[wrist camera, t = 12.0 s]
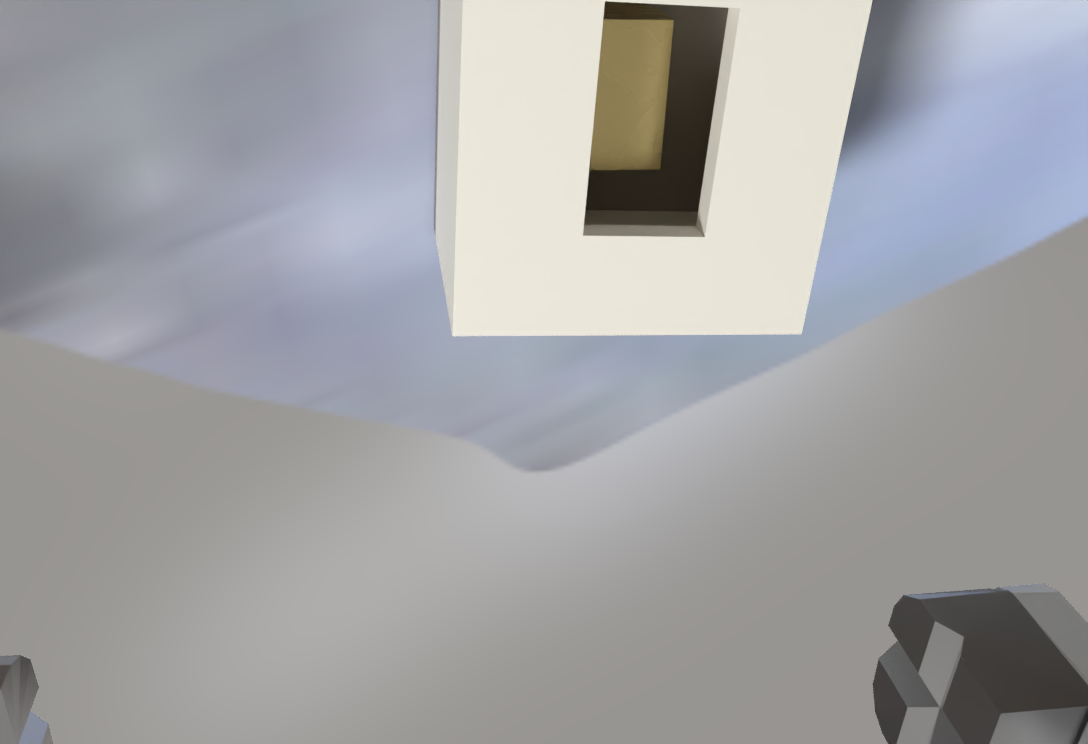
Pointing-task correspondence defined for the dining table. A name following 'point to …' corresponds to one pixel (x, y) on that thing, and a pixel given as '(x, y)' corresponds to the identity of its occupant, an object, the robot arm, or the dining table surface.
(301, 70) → the dining table surface
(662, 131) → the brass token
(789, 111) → the money box
